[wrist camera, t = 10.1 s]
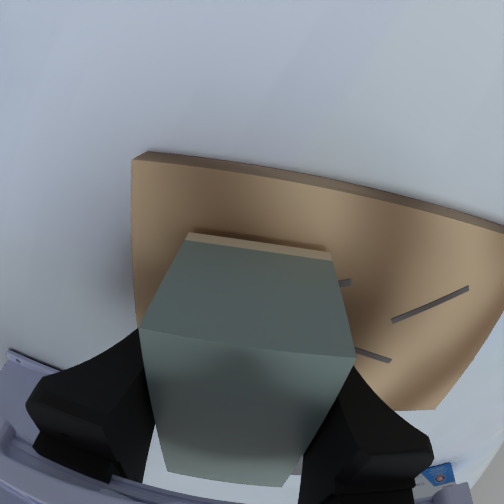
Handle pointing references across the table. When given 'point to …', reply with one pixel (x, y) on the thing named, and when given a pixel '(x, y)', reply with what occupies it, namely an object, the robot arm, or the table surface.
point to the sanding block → (244, 357)
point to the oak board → (339, 260)
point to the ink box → (433, 480)
